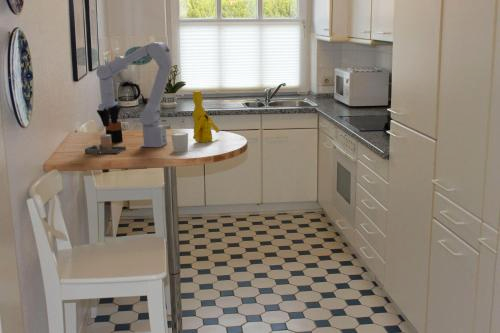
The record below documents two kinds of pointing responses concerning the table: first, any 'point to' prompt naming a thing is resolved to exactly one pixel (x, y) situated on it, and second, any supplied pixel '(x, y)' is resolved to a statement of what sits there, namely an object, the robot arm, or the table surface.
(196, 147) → the table surface
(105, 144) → the jar
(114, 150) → the frame
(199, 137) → the figure statuette
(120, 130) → the battery
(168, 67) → the robot arm
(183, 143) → the beige cylinder
